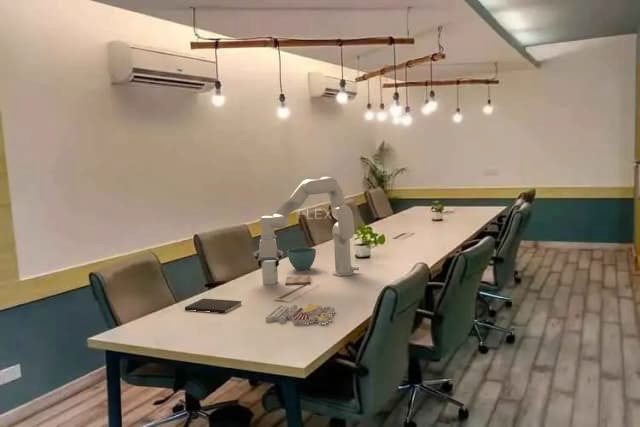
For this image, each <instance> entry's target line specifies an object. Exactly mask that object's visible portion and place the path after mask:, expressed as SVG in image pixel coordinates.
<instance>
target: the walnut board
mask: <svg viewBox="0 0 640 427" xmlns="http://www.w3.org/2000/svg"><path fill="white" fill-rule="evenodd" d="M294 285H295V286H296V285H297V286H298V285H300V286H301V285H311V275H297V276H296V275H295V276H293V275H291V276H286V279H285V286H294Z"/></svg>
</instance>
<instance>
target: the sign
mask: <svg viewBox="0 0 640 427" xmlns="http://www.w3.org/2000/svg"><path fill="white" fill-rule="evenodd" d="M334 311H335V312H336V310H335V307H331V306H324V307H323V305H320V304H308V305H307V306H306V307H305V309H304V308H303V307H299V308H298V305H297V304H294V305H292V306H291V307H289V306H286V305H285V304H284V305H281V304H280V305H278V306H277V307H275V308H274V309H273V310H272V311H271V312H270V313H268V314H267V315H266V316H265V322H266V321H272V322H274V321H273V320H279V321H278V322H286V321H287V320H288V319H290V320H291V322H292V321H294V322H293V325H294V324H297V325H298V324H305V323H310V322H311V323H314V322H315V321H318V322H317V324H318V323H320V324H322V323H326V322H329V323H330V321H329V320H332V319H333V315H331V314H332V313H333V312H334ZM335 312H334V313H335ZM334 313H333V314H334ZM309 315H310V316H309ZM287 318H288V319H287ZM286 319H287V320H286ZM285 320H286V321H285ZM311 323H310V324H311ZM315 323H316V322H315ZM315 323H314V324H315ZM305 325H306V324H305Z"/></svg>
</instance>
